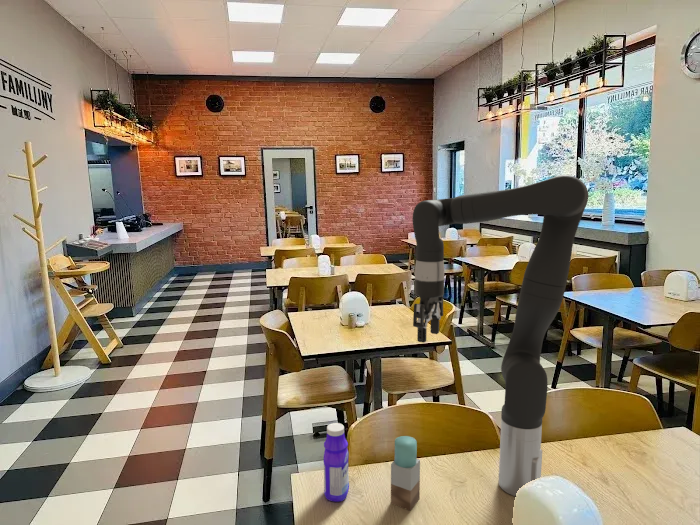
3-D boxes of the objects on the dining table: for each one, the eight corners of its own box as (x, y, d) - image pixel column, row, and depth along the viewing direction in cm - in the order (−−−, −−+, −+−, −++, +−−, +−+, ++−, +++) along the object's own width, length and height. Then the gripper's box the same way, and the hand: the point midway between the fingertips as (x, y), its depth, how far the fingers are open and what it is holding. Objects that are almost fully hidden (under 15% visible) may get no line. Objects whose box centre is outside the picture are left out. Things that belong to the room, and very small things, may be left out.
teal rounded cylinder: (419, 459, 112) (420, 439, 111) (410, 470, 107) (411, 449, 107) (400, 453, 114) (400, 433, 113) (390, 463, 110) (390, 443, 109)
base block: (419, 498, 113) (419, 479, 112) (410, 510, 109) (410, 490, 108) (400, 492, 116) (400, 472, 115) (390, 503, 112) (390, 483, 111)
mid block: (419, 479, 112) (420, 459, 112) (410, 490, 108) (410, 470, 107) (400, 473, 115) (400, 453, 114) (390, 483, 111) (391, 463, 110)
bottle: (345, 505, 111) (344, 435, 108) (321, 502, 112) (319, 433, 109) (351, 486, 118) (350, 420, 115) (328, 484, 119) (327, 418, 116)
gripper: (432, 283, 117) (431, 347, 119) (453, 274, 129) (451, 332, 131) (404, 280, 121) (403, 342, 123) (427, 272, 133) (426, 328, 135)
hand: (428, 337), depth 127 cm, fingers open, 8 cm apart
